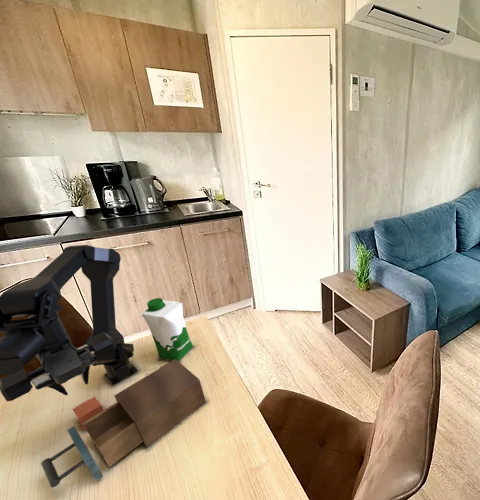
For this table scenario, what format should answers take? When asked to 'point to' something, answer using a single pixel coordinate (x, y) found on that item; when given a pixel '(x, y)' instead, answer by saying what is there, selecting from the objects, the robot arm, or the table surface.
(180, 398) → the cabinet
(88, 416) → the block
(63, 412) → the table surface
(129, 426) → the drawer
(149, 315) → the milk carton
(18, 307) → the robot arm
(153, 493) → the table surface
